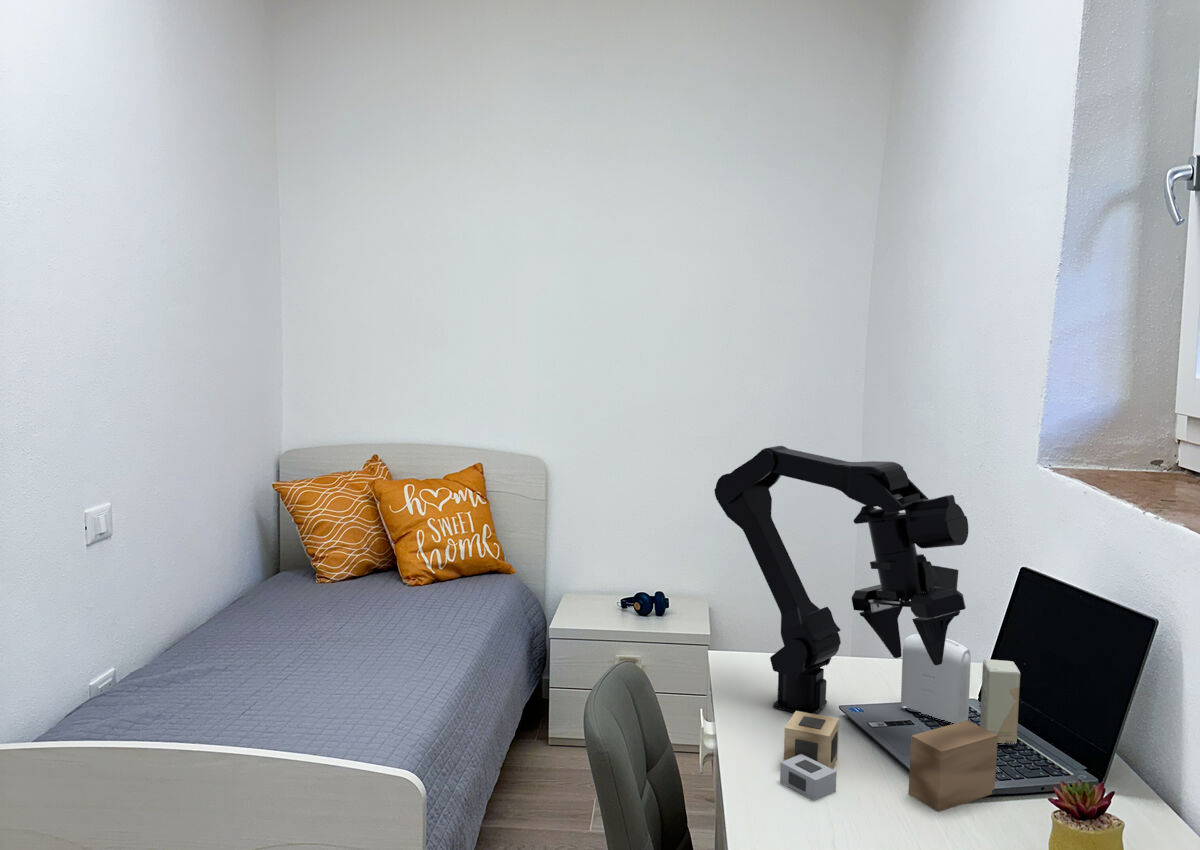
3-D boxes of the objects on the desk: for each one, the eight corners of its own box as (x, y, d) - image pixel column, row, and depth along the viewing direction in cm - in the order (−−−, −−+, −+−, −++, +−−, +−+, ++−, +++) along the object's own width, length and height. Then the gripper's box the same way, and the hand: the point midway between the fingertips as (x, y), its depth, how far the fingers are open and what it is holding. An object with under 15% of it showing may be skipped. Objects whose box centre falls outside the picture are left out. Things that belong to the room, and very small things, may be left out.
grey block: (779, 784, 130) (779, 761, 129) (800, 774, 132) (801, 752, 132) (814, 803, 125) (814, 779, 124) (835, 793, 127) (836, 770, 127)
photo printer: (895, 709, 152) (899, 632, 151) (908, 701, 156) (912, 625, 154) (960, 729, 145) (964, 649, 144) (972, 720, 149) (976, 641, 147)
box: (1016, 748, 139) (1021, 673, 138) (984, 745, 140) (989, 671, 139) (1009, 732, 145) (1013, 660, 143) (978, 729, 145) (982, 657, 144)
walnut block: (908, 794, 127) (911, 735, 126) (963, 777, 131) (967, 720, 130) (938, 812, 122) (941, 751, 121) (994, 793, 127) (997, 735, 126)
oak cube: (783, 770, 133) (784, 727, 132) (794, 751, 138) (795, 709, 138) (828, 779, 130) (830, 735, 130) (838, 760, 136) (840, 717, 135)
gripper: (985, 539, 133) (1009, 654, 132) (902, 540, 151) (923, 642, 150) (917, 555, 129) (941, 674, 128) (840, 555, 147) (861, 659, 146)
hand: (917, 660), depth 138 cm, fingers open, 9 cm apart
